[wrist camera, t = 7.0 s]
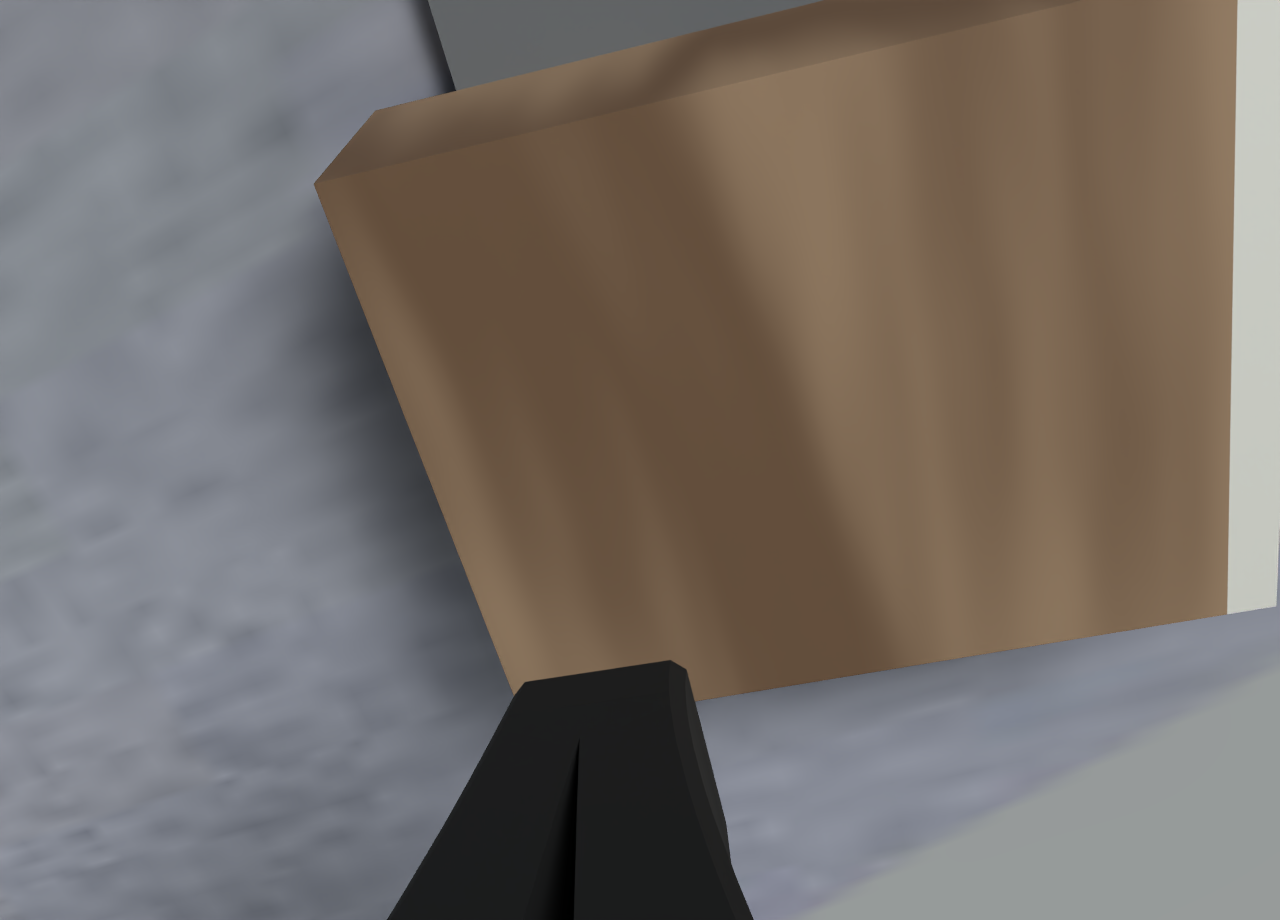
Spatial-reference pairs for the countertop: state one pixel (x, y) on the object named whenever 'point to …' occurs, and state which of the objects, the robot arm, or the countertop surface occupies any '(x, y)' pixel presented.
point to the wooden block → (842, 333)
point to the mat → (569, 30)
